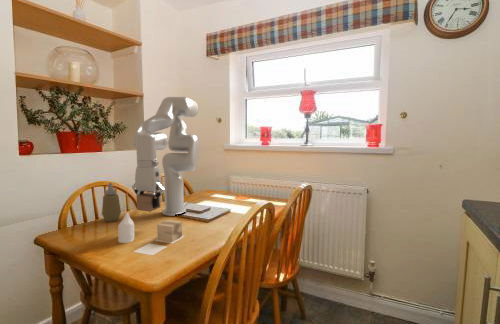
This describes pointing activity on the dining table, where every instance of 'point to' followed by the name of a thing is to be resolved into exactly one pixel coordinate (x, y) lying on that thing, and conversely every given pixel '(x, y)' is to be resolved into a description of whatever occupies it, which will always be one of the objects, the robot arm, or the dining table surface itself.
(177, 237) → the oak block
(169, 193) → the robot arm
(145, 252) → the build board
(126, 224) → the white bottle
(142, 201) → the walnut block
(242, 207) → the dining table surface
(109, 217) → the squeeze bottle
